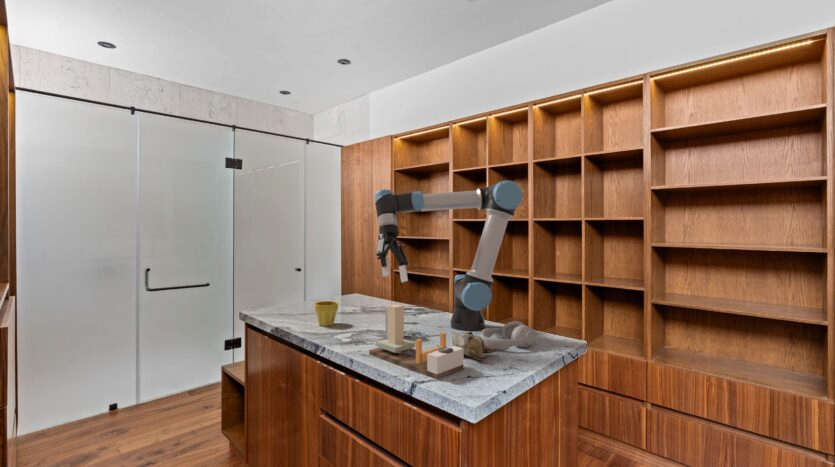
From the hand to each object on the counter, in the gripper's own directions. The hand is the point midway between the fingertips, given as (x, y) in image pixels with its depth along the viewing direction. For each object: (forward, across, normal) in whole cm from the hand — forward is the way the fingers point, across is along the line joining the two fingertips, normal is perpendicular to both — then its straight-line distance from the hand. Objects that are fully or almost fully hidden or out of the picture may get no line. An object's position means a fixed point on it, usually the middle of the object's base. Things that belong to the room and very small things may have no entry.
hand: (396, 278), depth 151 cm
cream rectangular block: (+35, +11, +18) cm, 41 cm away
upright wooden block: (+26, +4, -2) cm, 26 cm away
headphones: (+29, -26, +28) cm, 49 cm away
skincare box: (+18, -16, -13) cm, 28 cm away
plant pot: (+6, -18, -48) cm, 52 cm away
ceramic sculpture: (+32, -7, +21) cm, 39 cm away
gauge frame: (+31, +10, +13) cm, 35 cm away
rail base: (+31, +7, +6) cm, 32 cm away
